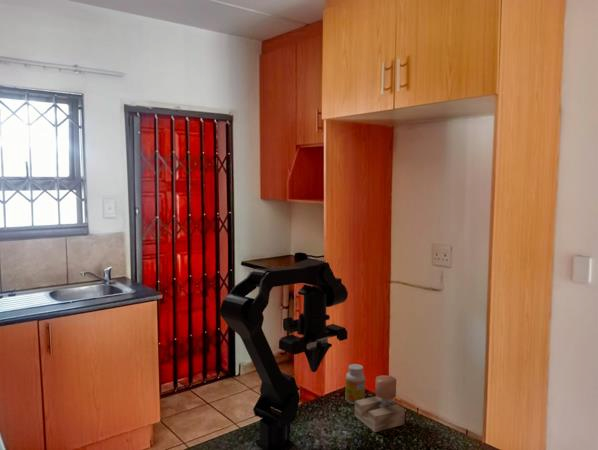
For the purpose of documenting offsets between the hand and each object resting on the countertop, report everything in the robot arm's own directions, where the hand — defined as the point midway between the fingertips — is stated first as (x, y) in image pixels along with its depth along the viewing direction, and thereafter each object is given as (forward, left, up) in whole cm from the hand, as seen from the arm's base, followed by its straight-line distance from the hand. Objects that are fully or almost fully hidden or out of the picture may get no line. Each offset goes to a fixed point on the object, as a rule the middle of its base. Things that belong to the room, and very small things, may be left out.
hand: (313, 371), depth 117 cm
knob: (+15, -11, -11) cm, 22 cm away
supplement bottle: (+17, +1, -13) cm, 22 cm away
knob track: (+13, -10, -13) cm, 21 cm away
